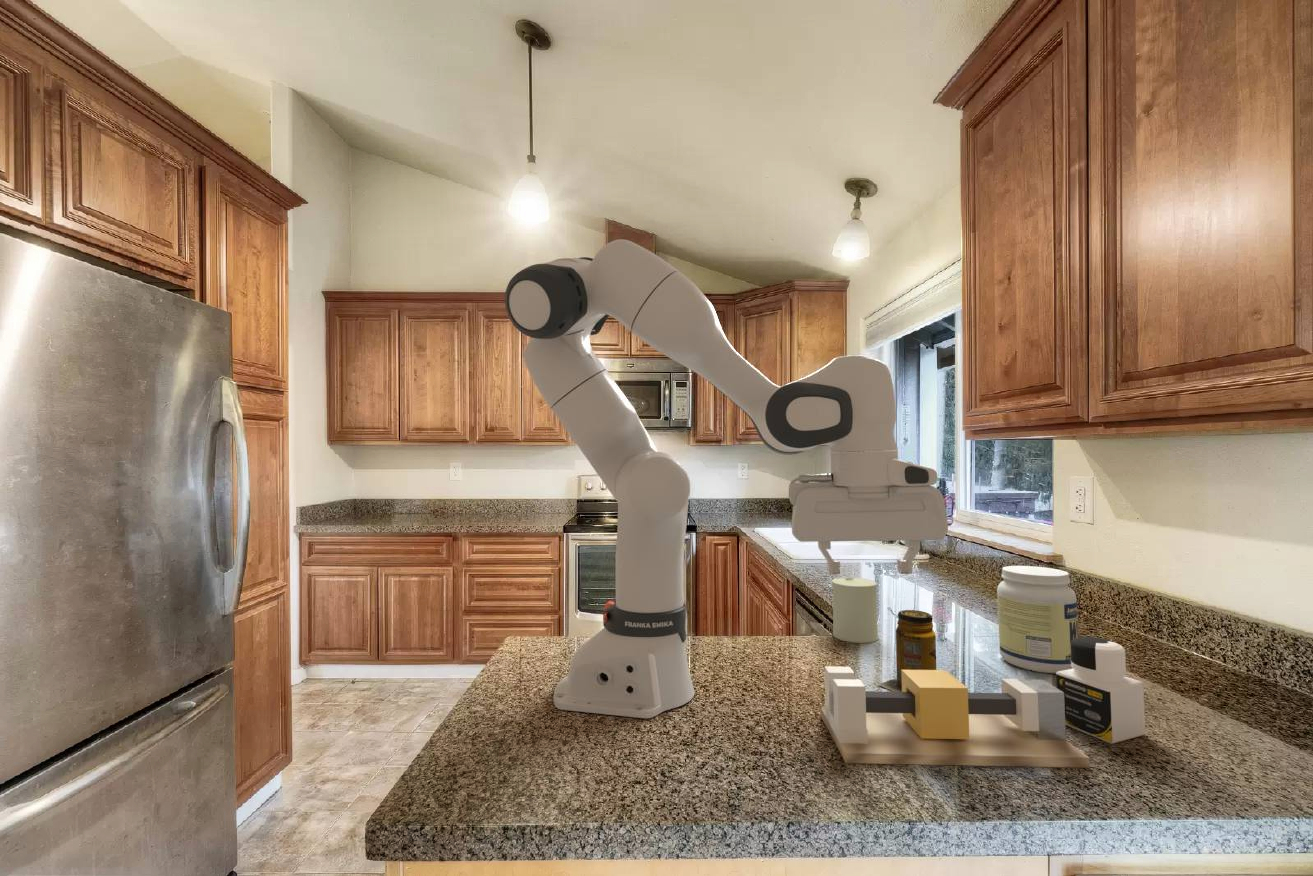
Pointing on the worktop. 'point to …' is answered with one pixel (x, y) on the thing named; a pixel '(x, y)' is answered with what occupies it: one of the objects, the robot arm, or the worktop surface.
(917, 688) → the sleeve
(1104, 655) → the medicine bottle
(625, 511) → the robot arm
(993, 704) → the dark gray bar
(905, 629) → the condiment
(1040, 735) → the block
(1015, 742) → the board
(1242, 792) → the worktop surface
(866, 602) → the can
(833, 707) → the white bar support
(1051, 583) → the supplement tub
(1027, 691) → the white rectangular block
